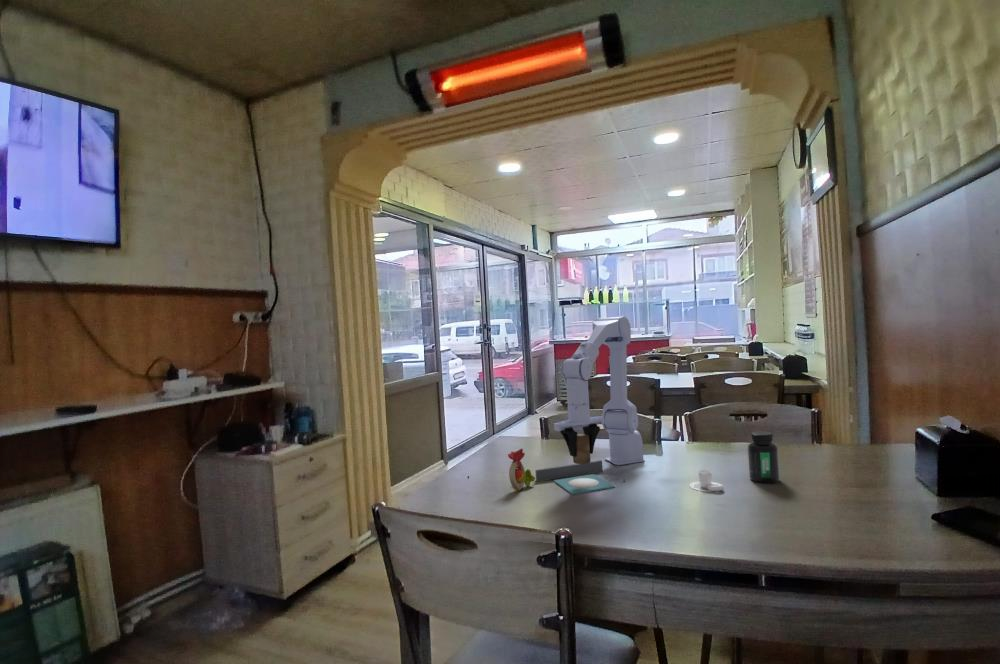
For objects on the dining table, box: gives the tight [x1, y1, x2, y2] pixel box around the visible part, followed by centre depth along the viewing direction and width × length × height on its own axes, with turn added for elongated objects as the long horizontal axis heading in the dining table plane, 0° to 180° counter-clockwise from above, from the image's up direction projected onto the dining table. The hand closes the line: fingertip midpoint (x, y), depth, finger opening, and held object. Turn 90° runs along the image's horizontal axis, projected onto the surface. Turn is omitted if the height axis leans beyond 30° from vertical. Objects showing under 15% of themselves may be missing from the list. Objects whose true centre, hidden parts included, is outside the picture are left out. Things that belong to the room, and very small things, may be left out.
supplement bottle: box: [747, 430, 780, 485], centre depth 132 cm, size 7×7×12 cm
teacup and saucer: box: [689, 469, 724, 493], centre depth 130 cm, size 9×8×4 cm
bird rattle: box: [507, 448, 536, 493], centre depth 138 cm, size 6×11×9 cm
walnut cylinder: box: [572, 433, 591, 464], centre depth 138 cm, size 4×4×7 cm
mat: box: [553, 473, 616, 495], centre depth 138 cm, size 12×12×1 cm
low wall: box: [534, 459, 603, 482], centre depth 147 cm, size 20×1×3 cm, turn 106°
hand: (581, 454), depth 138 cm, fingers closed on walnut cylinder, 4 cm apart
